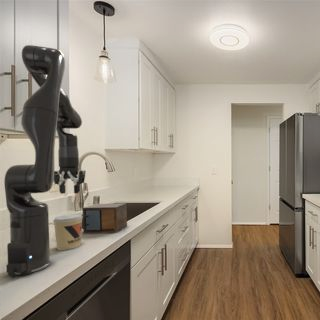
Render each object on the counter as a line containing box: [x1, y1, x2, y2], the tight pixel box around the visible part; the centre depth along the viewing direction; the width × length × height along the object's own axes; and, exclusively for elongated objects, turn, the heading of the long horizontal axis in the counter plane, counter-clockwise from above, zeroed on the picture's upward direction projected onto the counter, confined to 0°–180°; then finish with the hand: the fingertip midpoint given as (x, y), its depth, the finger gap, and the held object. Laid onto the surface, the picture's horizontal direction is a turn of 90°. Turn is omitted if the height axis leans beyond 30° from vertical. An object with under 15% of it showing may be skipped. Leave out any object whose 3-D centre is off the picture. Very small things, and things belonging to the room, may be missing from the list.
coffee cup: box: [53, 213, 83, 251], centre depth 94 cm, size 9×9×12 cm
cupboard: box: [82, 202, 128, 234], centre depth 116 cm, size 10×16×12 cm, turn 89°
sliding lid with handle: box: [82, 210, 101, 230], centre depth 110 cm, size 5×7×9 cm
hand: (69, 193), depth 108 cm, fingers open, 5 cm apart
